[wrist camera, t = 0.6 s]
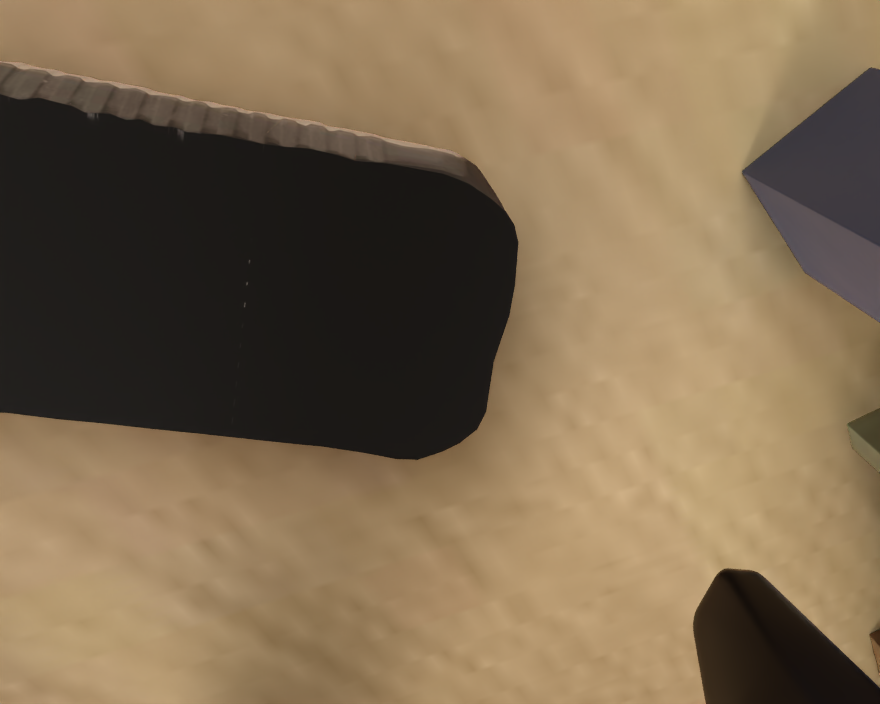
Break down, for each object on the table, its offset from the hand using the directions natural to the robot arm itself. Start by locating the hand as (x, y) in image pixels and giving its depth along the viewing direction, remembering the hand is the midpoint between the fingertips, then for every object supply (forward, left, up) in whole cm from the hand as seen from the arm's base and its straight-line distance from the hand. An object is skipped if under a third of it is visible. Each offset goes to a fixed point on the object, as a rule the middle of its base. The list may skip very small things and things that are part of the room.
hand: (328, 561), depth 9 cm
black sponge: (-1, +3, -15) cm, 15 cm away
